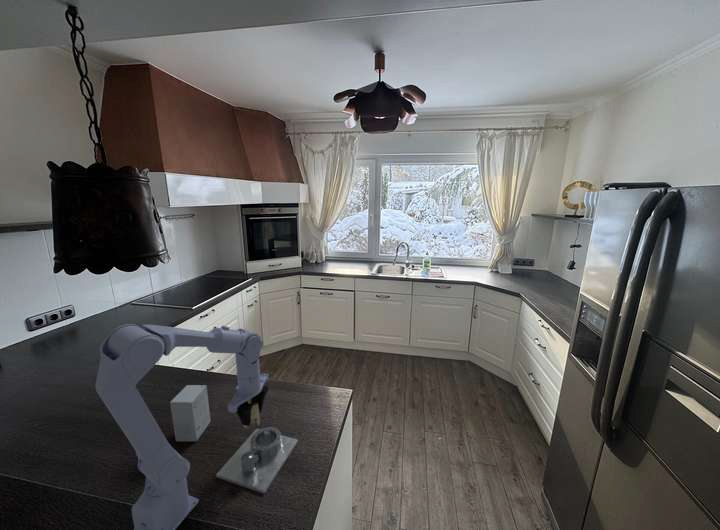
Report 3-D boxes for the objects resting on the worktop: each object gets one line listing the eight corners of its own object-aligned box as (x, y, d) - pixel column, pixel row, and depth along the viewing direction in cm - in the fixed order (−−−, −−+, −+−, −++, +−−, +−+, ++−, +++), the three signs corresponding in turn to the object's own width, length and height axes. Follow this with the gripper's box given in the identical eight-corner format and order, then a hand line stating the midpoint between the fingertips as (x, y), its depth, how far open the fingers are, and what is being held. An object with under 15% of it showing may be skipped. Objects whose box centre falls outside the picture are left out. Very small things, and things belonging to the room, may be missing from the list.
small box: (191, 421, 90) (186, 384, 88) (211, 421, 90) (207, 384, 88) (174, 441, 82) (169, 402, 80) (196, 442, 82) (191, 402, 80)
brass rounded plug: (253, 430, 77) (251, 410, 76) (239, 427, 78) (237, 408, 77) (263, 419, 81) (261, 400, 80) (250, 416, 82) (248, 397, 81)
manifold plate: (264, 493, 68) (263, 477, 67) (216, 477, 72) (214, 461, 71) (297, 442, 83) (297, 427, 82) (256, 430, 87) (255, 416, 86)
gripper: (253, 358, 85) (256, 398, 87) (216, 386, 71) (220, 433, 74) (273, 361, 83) (276, 403, 85) (239, 392, 69) (243, 440, 72)
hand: (252, 417), depth 79 cm, fingers closed on brass rounded plug, 4 cm apart
